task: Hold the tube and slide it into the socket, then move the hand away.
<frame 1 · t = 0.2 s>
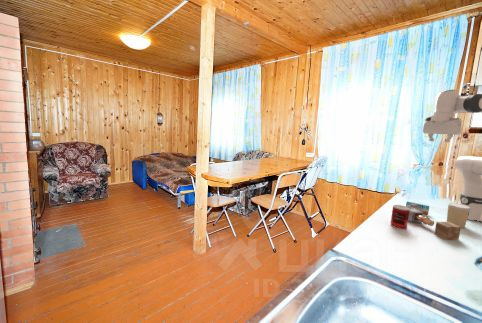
hand: (438, 141, 136), 47 cm above the countertop, fingers open, 8 cm apart
tube: (419, 217, 132), point 3 cm above the countertop, slide at 0.0 cm
sleeve: (412, 220, 137), on the countertop
blue thin box: (416, 213, 151), on the countertop
socket: (446, 236, 117), on the countertop
canned food: (398, 226, 128), on the countertop
coffee cup: (455, 225, 132), on the countertop
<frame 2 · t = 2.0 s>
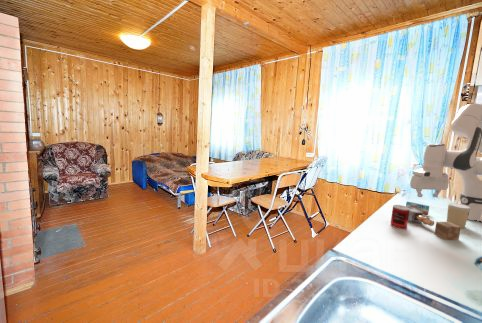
hand: (427, 196, 127), 17 cm above the countertop, fingers open, 8 cm apart
nothing on the countertop moved.
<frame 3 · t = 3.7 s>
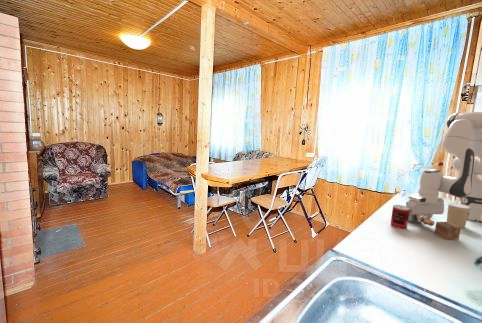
hand: (423, 221, 129), 3 cm above the countertop, fingers closed on tube, 3 cm apart
tube: (419, 217, 132), point 4 cm above the countertop, slide at 0.0 cm, touching gripper
everything else where it was.
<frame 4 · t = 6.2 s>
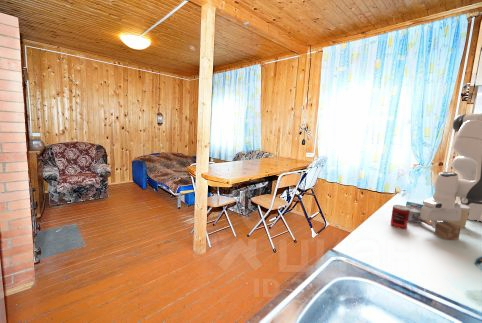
hand: (438, 228, 121), 3 cm above the countertop, fingers closed on tube, 3 cm apart
tube: (433, 224, 123), point 3 cm above the countertop, slide at 8.9 cm, touching gripper
everything else where it was.
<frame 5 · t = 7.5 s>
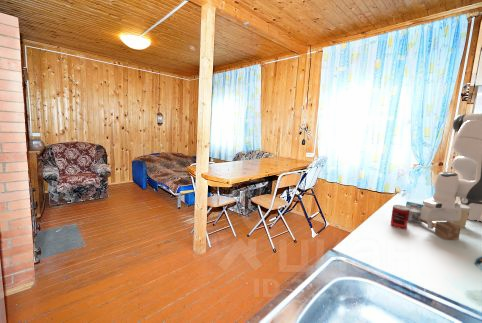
hand: (438, 228, 121), 3 cm above the countertop, fingers open, 8 cm apart
tube: (433, 224, 123), point 3 cm above the countertop, slide at 9.0 cm
everything else where it was.
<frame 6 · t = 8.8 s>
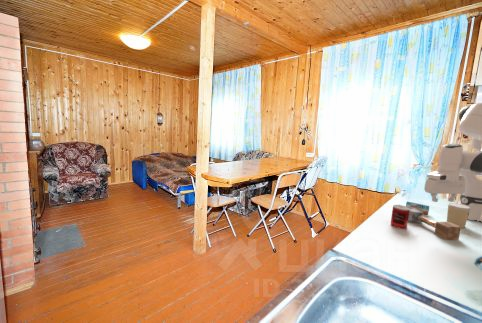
hand: (442, 201, 119), 17 cm above the countertop, fingers open, 8 cm apart
nothing on the countertop moved.
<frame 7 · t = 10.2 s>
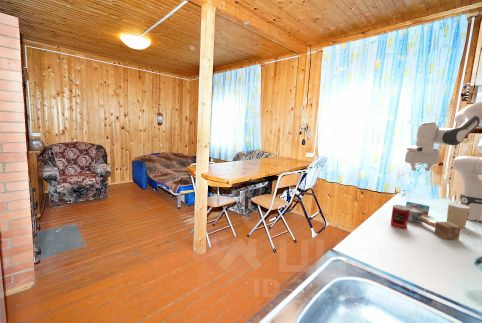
hand: (420, 170, 142), 29 cm above the countertop, fingers open, 8 cm apart
nothing on the countertop moved.
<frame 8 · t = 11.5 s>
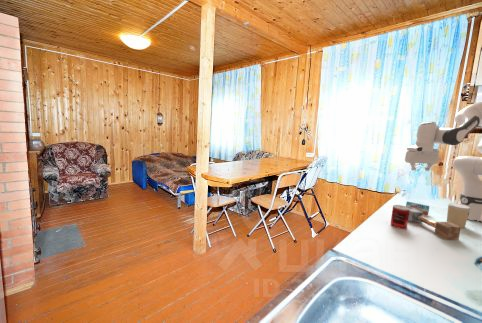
hand: (420, 170, 142), 29 cm above the countertop, fingers open, 8 cm apart
nothing on the countertop moved.
at the end: tube slide at 9.0 cm; the gripper is holding nothing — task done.
